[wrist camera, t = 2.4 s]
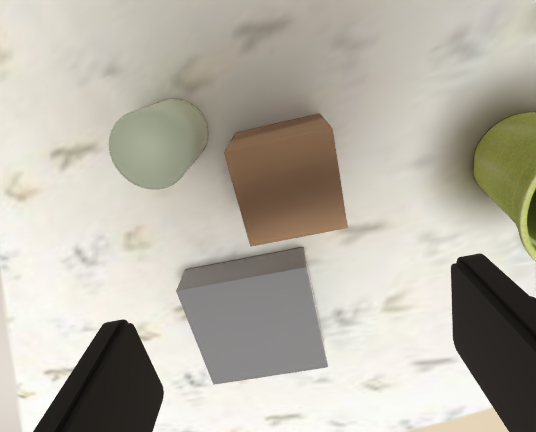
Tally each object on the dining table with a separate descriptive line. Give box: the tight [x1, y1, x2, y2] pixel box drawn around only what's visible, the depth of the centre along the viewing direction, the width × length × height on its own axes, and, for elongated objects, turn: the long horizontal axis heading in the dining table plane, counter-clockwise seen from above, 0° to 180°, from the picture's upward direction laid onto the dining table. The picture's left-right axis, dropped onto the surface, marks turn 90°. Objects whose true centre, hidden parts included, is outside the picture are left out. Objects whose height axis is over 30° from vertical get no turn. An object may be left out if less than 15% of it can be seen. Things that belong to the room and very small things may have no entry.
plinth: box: [176, 247, 328, 384], centre depth 30 cm, size 10×10×3 cm
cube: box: [224, 114, 348, 246], centre depth 23 cm, size 6×6×6 cm
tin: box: [109, 99, 208, 189], centre depth 22 cm, size 4×4×6 cm
